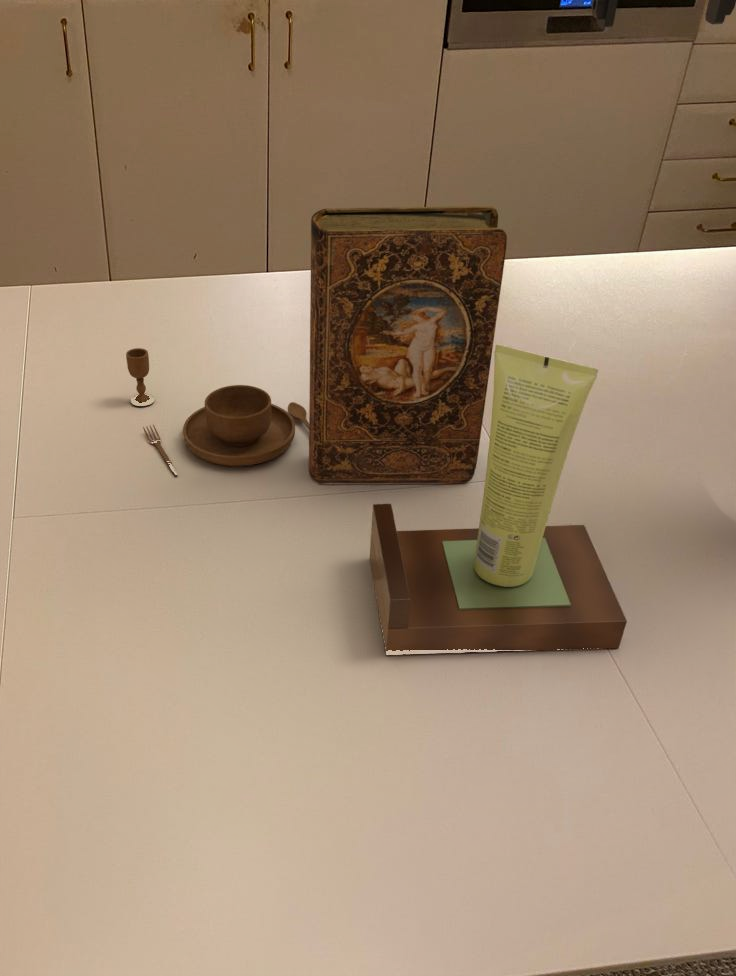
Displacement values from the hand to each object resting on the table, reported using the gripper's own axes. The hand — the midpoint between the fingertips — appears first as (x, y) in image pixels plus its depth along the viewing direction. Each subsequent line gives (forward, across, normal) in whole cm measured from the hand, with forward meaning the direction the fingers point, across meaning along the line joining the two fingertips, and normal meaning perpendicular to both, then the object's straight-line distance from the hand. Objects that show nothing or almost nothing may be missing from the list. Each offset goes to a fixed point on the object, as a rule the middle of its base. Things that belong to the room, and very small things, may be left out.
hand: (659, 24), depth 77 cm
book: (+38, -19, -3) cm, 43 cm away
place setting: (+38, -36, +7) cm, 53 cm away
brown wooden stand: (+38, -13, -24) cm, 47 cm away
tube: (+35, -12, -24) cm, 44 cm away
